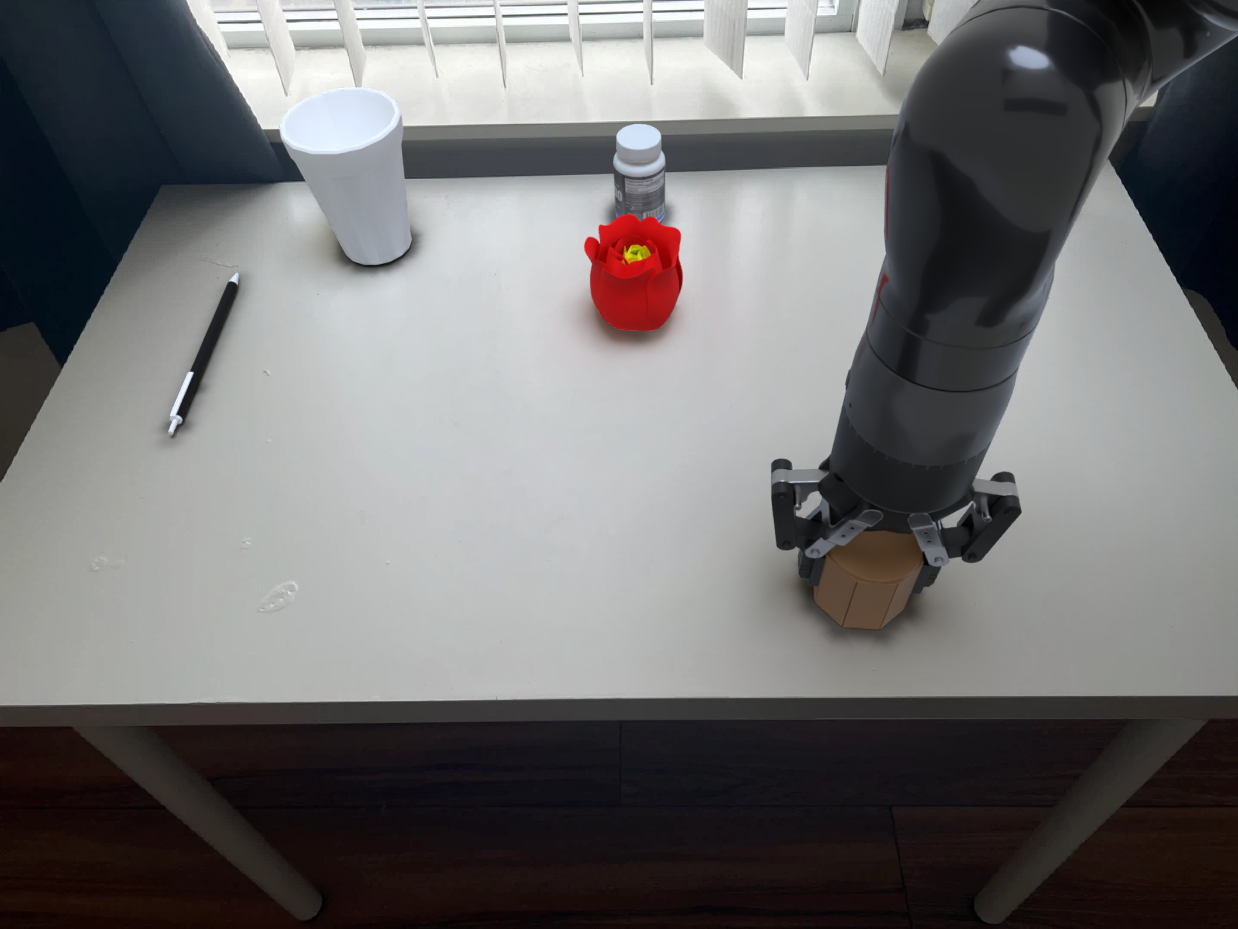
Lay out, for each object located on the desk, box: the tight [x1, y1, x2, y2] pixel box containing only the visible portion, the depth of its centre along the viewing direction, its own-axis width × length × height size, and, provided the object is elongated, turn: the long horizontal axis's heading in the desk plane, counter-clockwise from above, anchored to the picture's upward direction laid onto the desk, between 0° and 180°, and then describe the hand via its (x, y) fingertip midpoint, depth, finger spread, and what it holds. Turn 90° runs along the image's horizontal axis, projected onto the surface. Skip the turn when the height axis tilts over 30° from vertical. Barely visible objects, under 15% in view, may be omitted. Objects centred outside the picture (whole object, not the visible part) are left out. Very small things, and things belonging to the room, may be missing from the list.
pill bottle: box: [612, 123, 666, 224], centre depth 82 cm, size 5×5×8 cm
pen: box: [167, 271, 240, 436], centre depth 75 cm, size 1×19×1 cm, turn 179°
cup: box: [278, 86, 413, 266], centre depth 79 cm, size 10×10×13 cm
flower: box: [583, 214, 684, 332], centre depth 73 cm, size 8×8×8 cm
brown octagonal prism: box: [813, 531, 924, 631], centre depth 57 cm, size 6×6×6 cm
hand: (862, 577), depth 58 cm, fingers closed on brown octagonal prism, 5 cm apart
